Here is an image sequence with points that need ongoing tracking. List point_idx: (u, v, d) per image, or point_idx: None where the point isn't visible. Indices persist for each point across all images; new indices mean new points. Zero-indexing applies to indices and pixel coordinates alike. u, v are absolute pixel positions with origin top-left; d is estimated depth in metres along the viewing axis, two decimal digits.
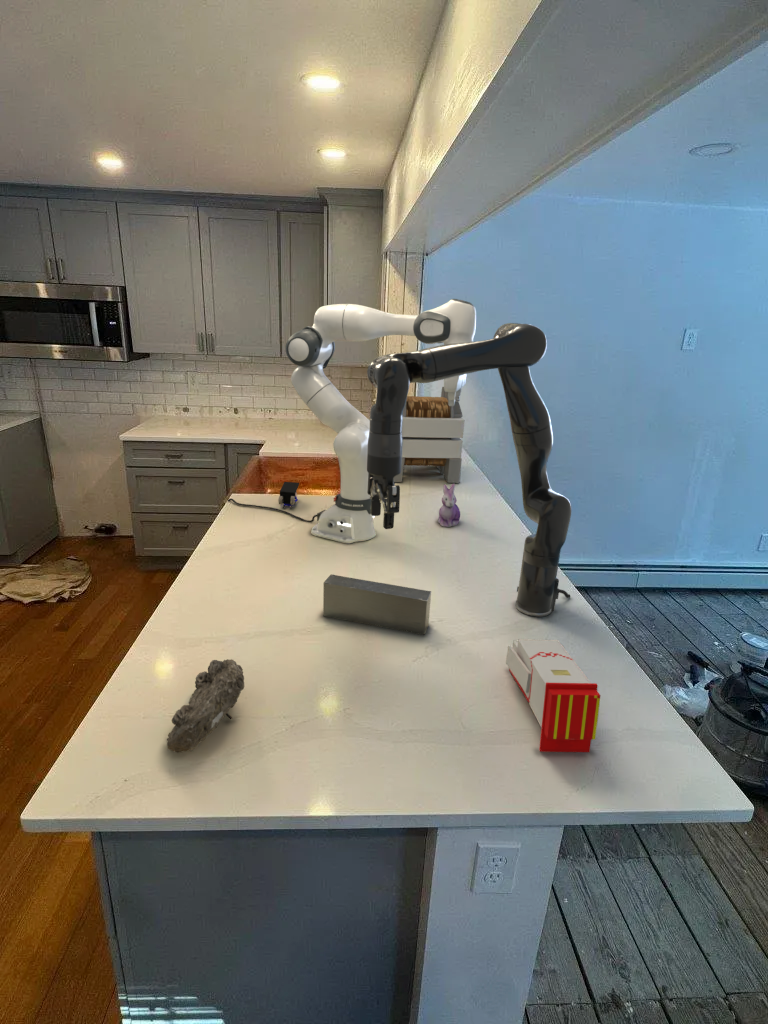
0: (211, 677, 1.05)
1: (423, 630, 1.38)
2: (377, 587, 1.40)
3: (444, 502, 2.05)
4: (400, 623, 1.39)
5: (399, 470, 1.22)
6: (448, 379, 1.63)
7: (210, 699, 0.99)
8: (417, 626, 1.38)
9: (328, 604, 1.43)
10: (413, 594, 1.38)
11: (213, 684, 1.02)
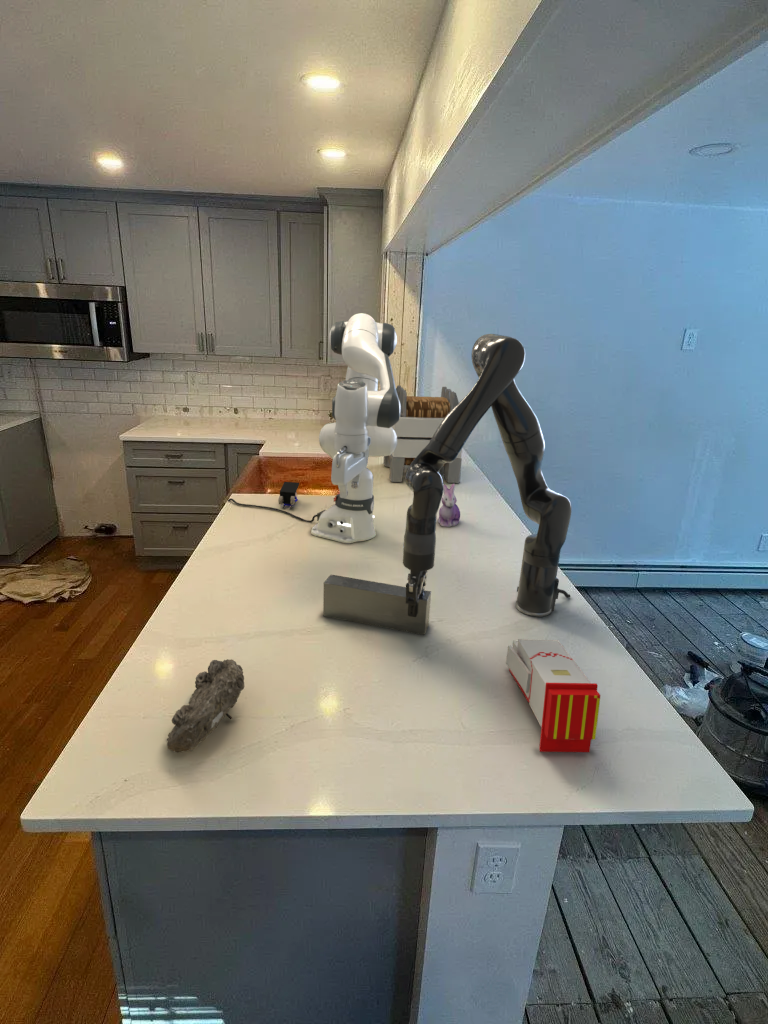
0: (211, 677, 1.05)
1: (423, 630, 1.38)
2: (377, 587, 1.40)
3: (444, 502, 2.05)
4: (400, 623, 1.39)
5: (426, 567, 1.32)
6: None
7: (210, 699, 0.99)
8: (417, 626, 1.38)
9: (328, 604, 1.43)
10: None
11: (213, 684, 1.02)
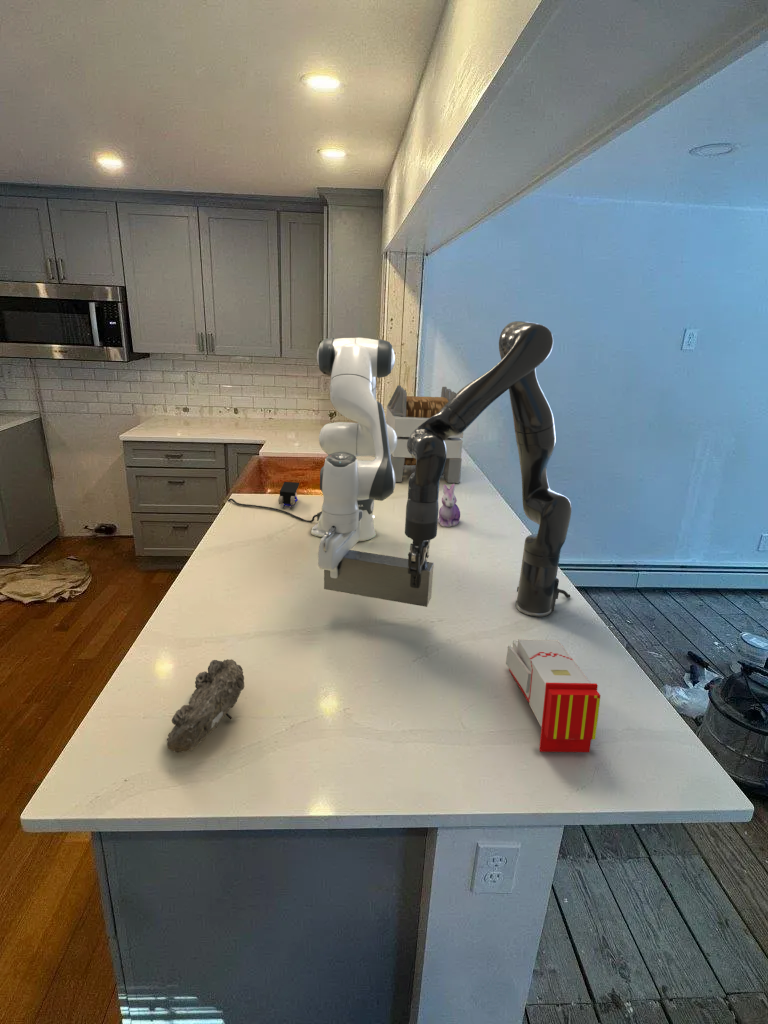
0: (211, 677, 1.05)
1: (426, 602, 1.35)
2: (379, 559, 1.38)
3: (444, 502, 2.05)
4: (403, 595, 1.37)
5: (429, 536, 1.30)
6: None
7: (210, 699, 0.99)
8: (420, 598, 1.36)
9: (328, 577, 1.41)
10: None
11: (213, 684, 1.02)
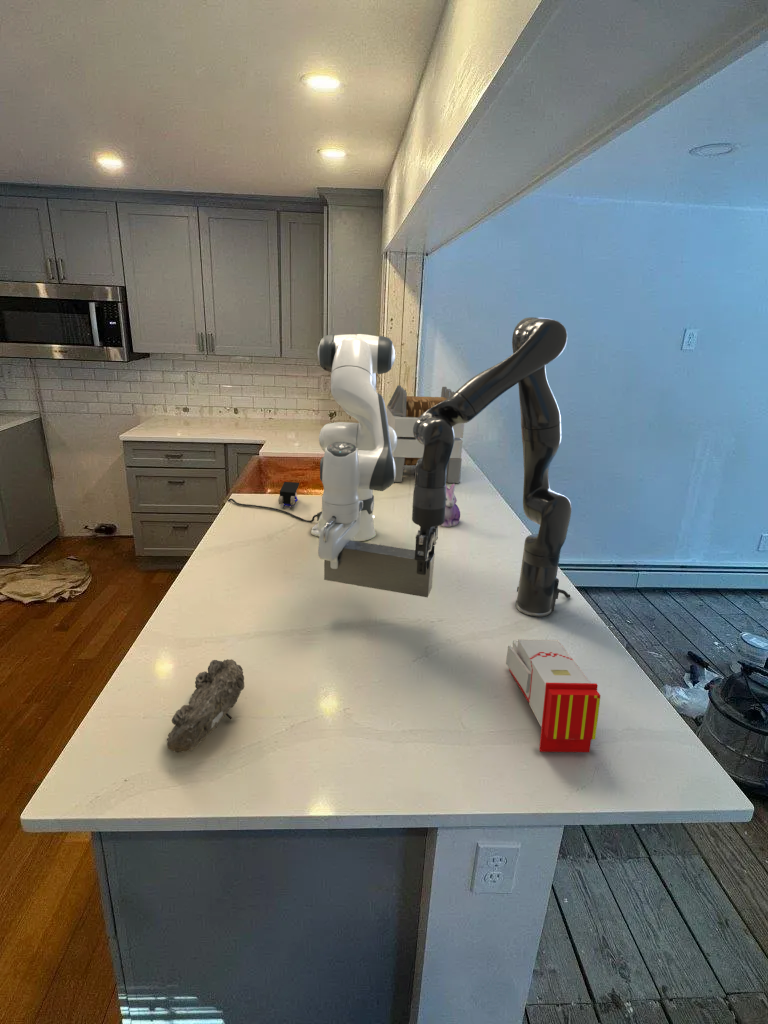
0: (211, 677, 1.05)
1: (426, 592, 1.35)
2: (379, 549, 1.37)
3: None
4: (403, 585, 1.36)
5: (436, 522, 1.28)
6: None
7: (210, 699, 0.99)
8: (420, 588, 1.35)
9: (329, 567, 1.40)
10: None
11: (213, 684, 1.02)
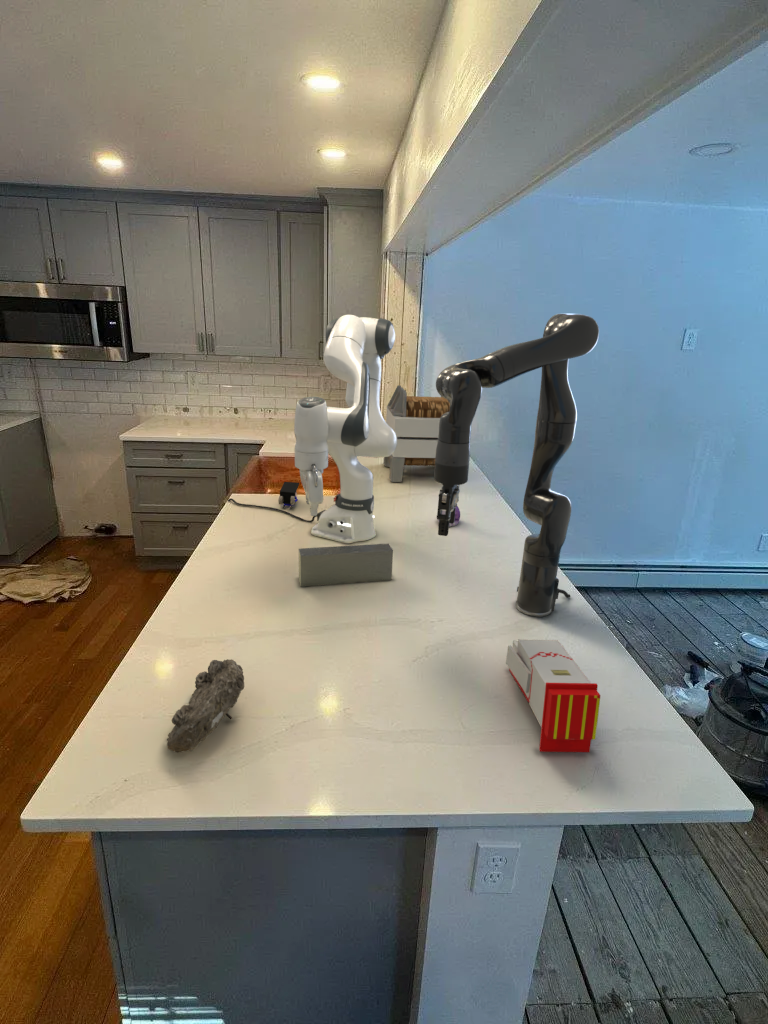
0: (211, 677, 1.05)
1: (390, 576, 1.65)
2: (347, 549, 1.61)
3: None
4: (371, 575, 1.64)
5: (460, 480, 1.23)
6: None
7: (210, 699, 0.99)
8: (385, 574, 1.65)
9: (305, 574, 1.58)
10: (378, 548, 1.64)
11: (213, 684, 1.02)
